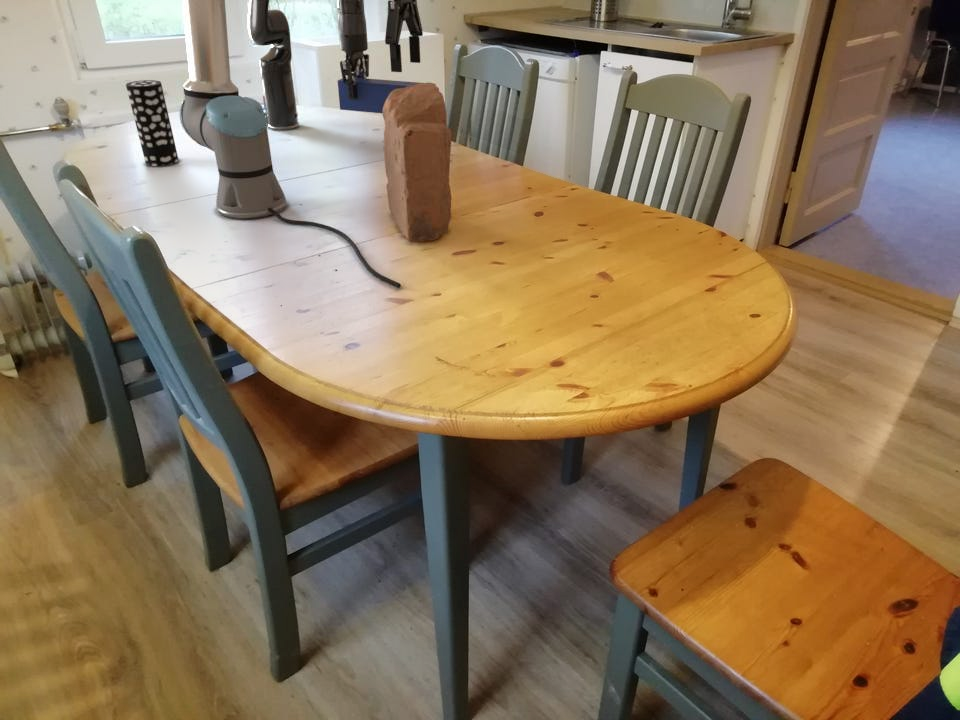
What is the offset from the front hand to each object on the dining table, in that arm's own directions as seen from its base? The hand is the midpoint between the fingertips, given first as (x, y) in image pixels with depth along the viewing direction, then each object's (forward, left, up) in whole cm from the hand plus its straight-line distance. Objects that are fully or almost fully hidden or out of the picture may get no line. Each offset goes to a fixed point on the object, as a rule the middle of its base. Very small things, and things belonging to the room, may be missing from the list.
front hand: (406, 67), depth 184 cm
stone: (-51, +20, -23) cm, 59 cm away
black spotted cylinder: (+22, +63, -13) cm, 68 cm away
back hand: (+13, +10, -9) cm, 18 cm away
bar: (+7, +4, -12) cm, 15 cm away
